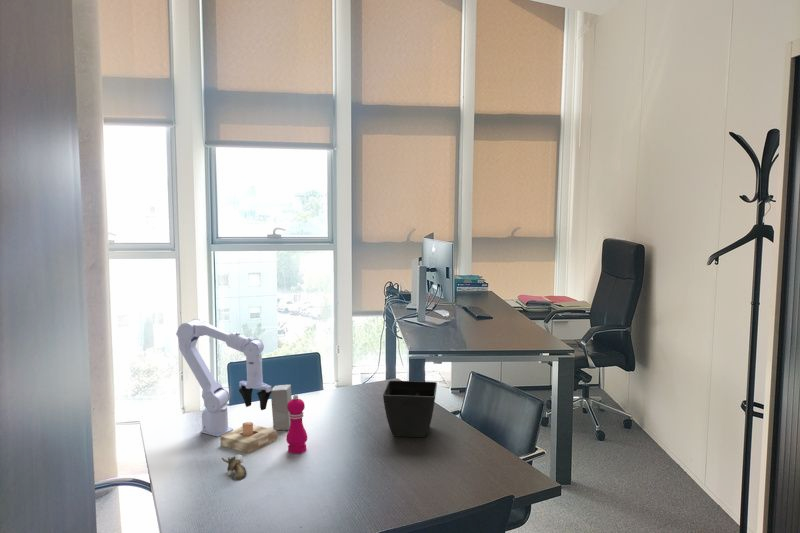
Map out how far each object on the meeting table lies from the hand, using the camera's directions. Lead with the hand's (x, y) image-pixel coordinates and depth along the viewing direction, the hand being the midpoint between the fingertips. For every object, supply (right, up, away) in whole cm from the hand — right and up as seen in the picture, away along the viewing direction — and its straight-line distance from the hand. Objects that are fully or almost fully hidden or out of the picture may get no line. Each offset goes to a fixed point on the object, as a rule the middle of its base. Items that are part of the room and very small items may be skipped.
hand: (255, 407), depth 225 cm
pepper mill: (+18, -12, -15) cm, 27 cm away
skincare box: (+9, -9, +8) cm, 15 cm away
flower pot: (+58, -9, +1) cm, 59 cm away
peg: (-1, -10, -8) cm, 13 cm away
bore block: (-1, -11, -8) cm, 13 cm away
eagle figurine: (+1, -14, -34) cm, 37 cm away
